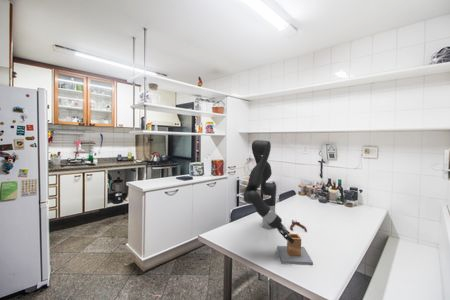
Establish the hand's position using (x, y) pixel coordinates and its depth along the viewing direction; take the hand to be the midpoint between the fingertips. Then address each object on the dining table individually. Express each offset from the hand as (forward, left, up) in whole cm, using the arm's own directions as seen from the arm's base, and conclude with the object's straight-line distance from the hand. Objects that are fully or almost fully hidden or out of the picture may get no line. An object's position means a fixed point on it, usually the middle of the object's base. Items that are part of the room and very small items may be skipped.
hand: (291, 238), depth 120 cm
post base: (0, +2, -10) cm, 10 cm away
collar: (0, +2, -8) cm, 9 cm away
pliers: (-42, +16, -11) cm, 46 cm away
